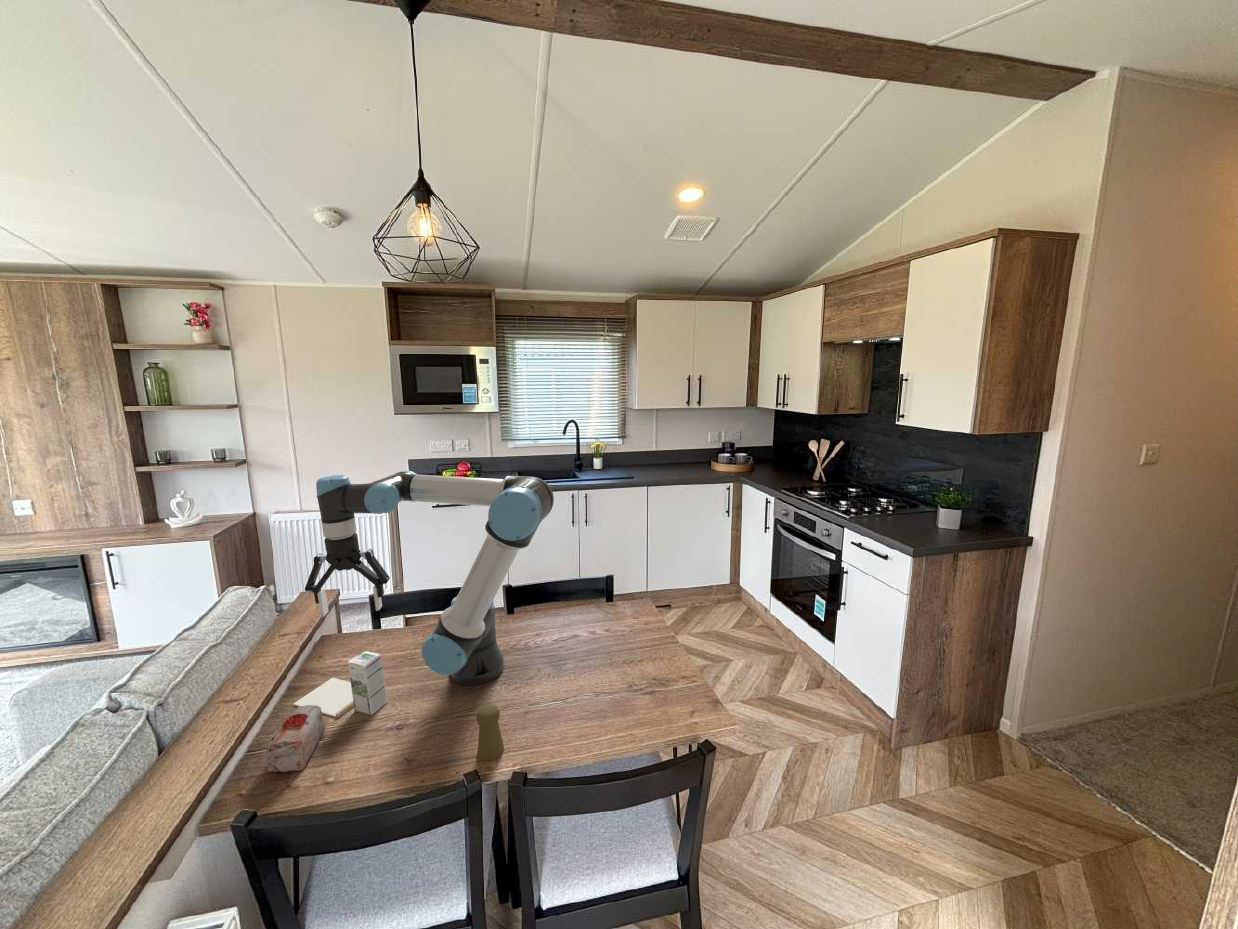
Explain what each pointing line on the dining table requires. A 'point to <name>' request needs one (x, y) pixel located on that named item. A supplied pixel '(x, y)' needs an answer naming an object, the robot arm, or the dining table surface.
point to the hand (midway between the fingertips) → (352, 611)
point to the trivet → (330, 698)
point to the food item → (295, 739)
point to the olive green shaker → (489, 733)
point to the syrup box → (367, 682)
